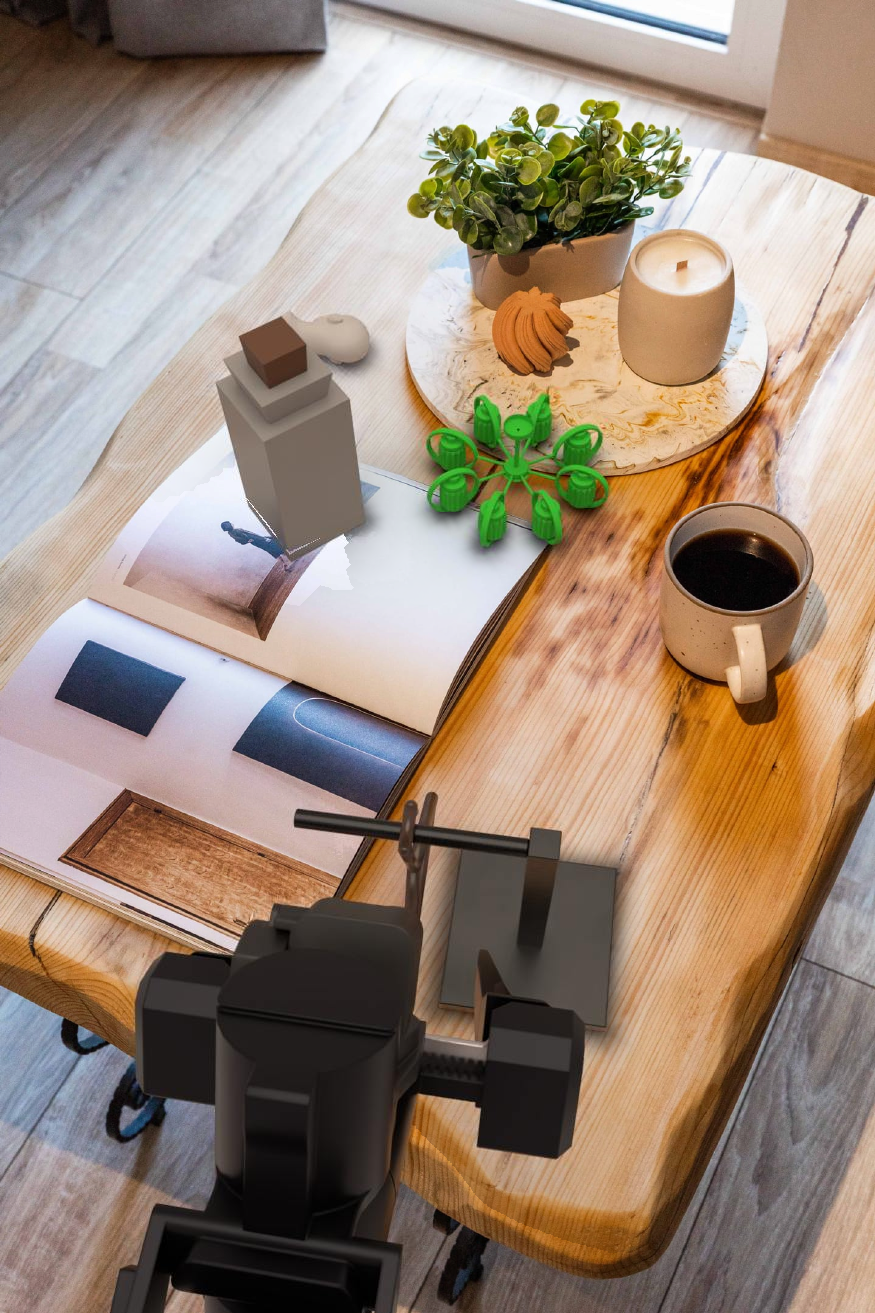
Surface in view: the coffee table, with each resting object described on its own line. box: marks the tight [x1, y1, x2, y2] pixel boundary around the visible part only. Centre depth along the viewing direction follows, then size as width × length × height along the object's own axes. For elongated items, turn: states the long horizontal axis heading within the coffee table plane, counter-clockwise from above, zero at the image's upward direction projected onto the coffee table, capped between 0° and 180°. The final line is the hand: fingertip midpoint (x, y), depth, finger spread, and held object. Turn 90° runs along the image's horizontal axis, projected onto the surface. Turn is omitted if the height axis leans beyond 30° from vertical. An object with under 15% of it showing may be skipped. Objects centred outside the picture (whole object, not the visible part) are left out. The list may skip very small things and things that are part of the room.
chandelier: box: [425, 392, 610, 548], centre depth 86 cm, size 15×15×7 cm
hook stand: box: [293, 808, 618, 1033], centre depth 63 cm, size 10×18×16 cm, turn 82°
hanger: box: [397, 791, 439, 919], centre depth 62 cm, size 11×1×12 cm, turn 171°
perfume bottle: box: [215, 315, 366, 563], centre depth 80 cm, size 7×7×18 cm
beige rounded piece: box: [281, 311, 371, 365], centre depth 96 cm, size 4×8×5 cm
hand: (390, 944), depth 55 cm, fingers open, 9 cm apart
